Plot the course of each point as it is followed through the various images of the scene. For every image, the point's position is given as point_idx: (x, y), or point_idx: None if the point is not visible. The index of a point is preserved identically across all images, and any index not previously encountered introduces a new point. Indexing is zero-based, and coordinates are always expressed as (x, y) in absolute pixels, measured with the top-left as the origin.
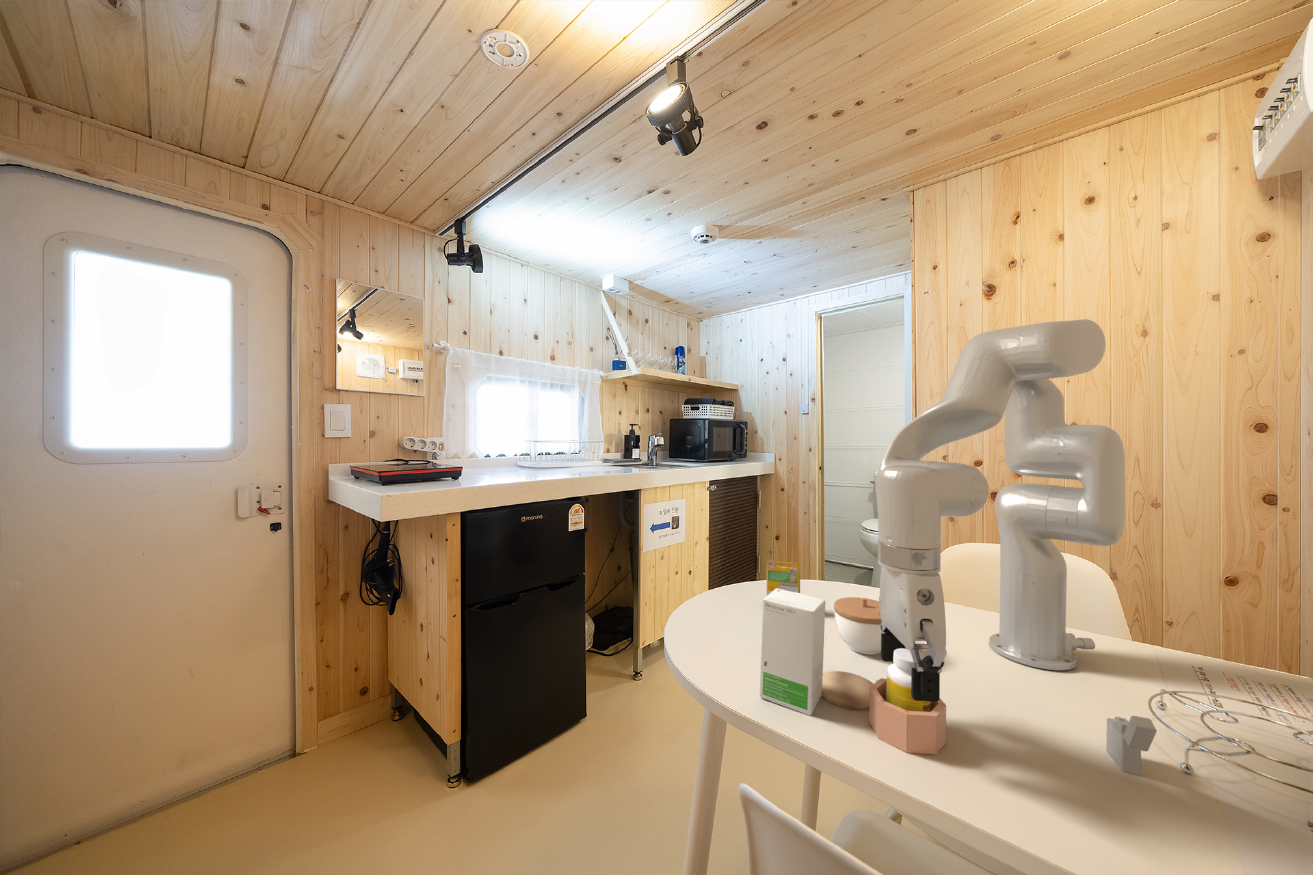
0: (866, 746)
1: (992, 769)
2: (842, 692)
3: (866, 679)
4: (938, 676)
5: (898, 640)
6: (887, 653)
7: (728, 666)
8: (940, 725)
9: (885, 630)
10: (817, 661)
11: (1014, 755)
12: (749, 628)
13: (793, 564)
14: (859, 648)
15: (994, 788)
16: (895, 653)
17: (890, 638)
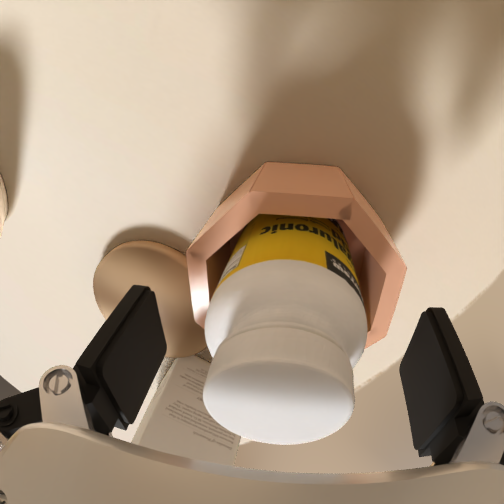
0: None
1: (430, 118)
2: (179, 329)
3: (108, 257)
4: (473, 380)
5: (117, 373)
6: (155, 362)
7: (138, 419)
8: (377, 221)
9: (111, 436)
10: (204, 448)
11: (378, 25)
12: (24, 355)
13: None
14: (3, 220)
15: (475, 160)
16: (268, 442)
17: (125, 402)
